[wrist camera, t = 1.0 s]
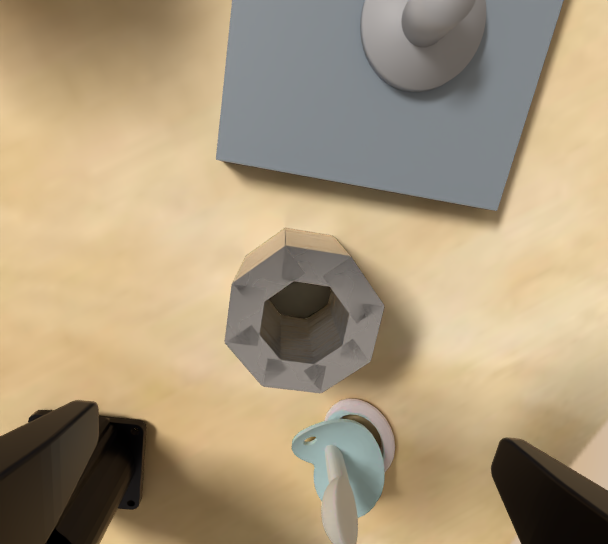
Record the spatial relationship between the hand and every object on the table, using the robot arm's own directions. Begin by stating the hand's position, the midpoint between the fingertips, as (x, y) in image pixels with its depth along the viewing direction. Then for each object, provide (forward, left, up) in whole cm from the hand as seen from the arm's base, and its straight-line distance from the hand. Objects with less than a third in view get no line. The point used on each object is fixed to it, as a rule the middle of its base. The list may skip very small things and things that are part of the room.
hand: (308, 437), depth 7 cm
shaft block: (+12, -2, -12) cm, 17 cm away
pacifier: (-10, -5, -12) cm, 17 cm away
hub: (0, 0, -12) cm, 12 cm away
